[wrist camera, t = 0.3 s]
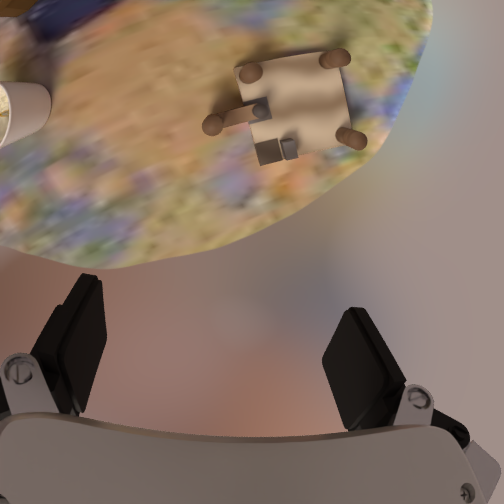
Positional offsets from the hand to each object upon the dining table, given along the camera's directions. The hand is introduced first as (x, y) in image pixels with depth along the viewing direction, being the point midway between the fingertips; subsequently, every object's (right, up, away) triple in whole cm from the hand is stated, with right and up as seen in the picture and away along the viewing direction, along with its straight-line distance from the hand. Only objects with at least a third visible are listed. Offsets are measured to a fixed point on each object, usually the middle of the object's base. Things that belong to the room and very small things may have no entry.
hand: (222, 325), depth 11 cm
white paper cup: (-33, +25, +23) cm, 47 cm away
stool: (+7, +23, +28) cm, 37 cm away
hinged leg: (-1, +20, +26) cm, 33 cm away
